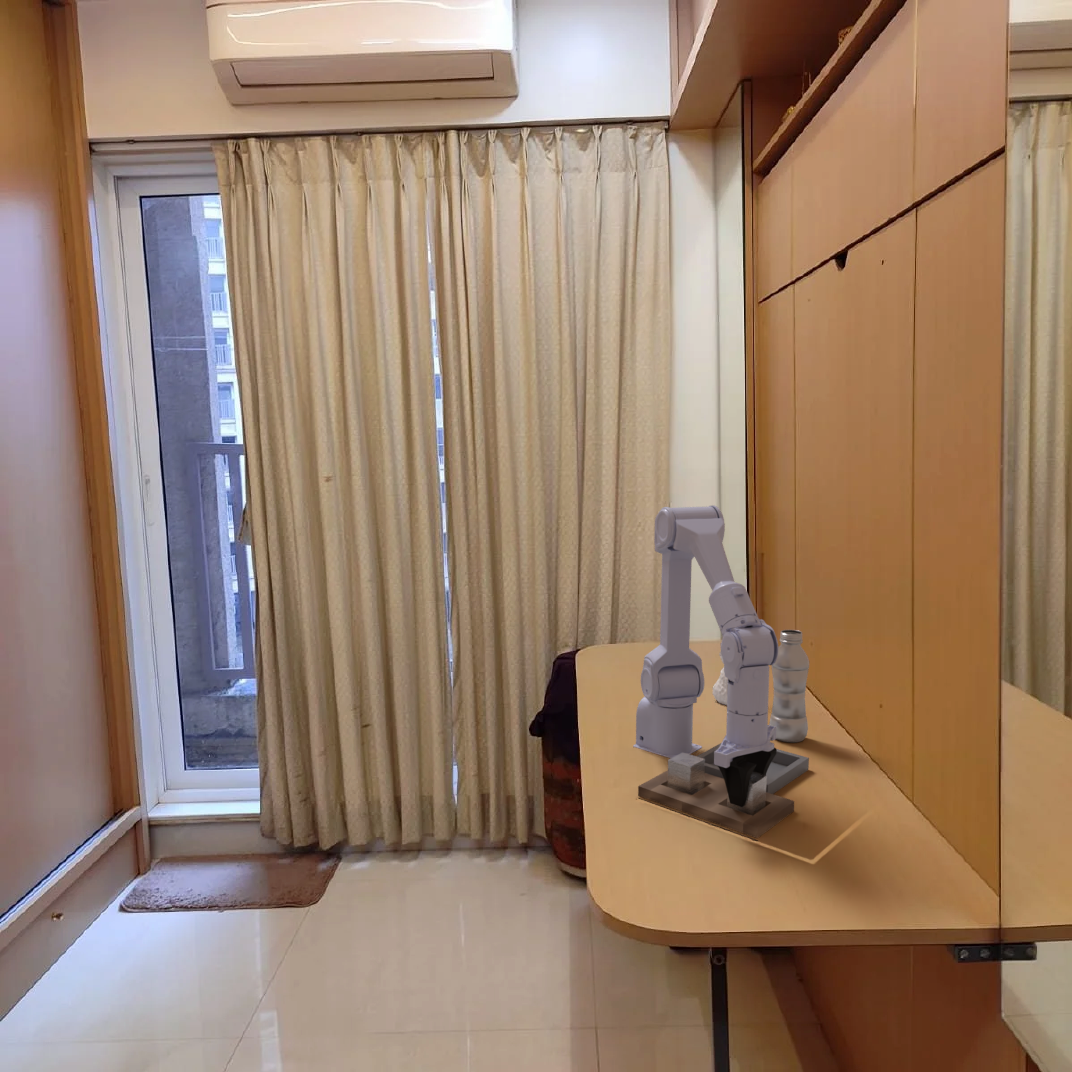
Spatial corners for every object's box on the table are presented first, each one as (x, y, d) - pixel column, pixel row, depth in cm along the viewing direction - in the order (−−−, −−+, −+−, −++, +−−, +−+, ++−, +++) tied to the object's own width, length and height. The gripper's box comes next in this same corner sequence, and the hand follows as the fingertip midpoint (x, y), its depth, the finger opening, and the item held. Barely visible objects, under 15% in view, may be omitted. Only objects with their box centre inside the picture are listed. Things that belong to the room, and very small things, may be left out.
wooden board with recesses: (638, 798, 130) (638, 786, 129) (678, 776, 138) (678, 764, 137) (757, 841, 116) (757, 827, 116) (793, 813, 124) (794, 801, 124)
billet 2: (726, 815, 123) (728, 776, 122) (740, 805, 126) (742, 767, 125) (751, 824, 121) (753, 784, 120) (764, 814, 124) (766, 775, 123)
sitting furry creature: (748, 712, 168) (750, 653, 166) (705, 706, 171) (707, 648, 170) (759, 698, 176) (760, 642, 174) (717, 693, 180) (719, 637, 178)
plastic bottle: (809, 748, 149) (813, 637, 146) (769, 745, 150) (773, 635, 148) (805, 735, 155) (809, 628, 153) (767, 732, 157) (770, 626, 154)
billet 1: (667, 797, 130) (668, 759, 129) (681, 788, 133) (682, 752, 132) (689, 804, 127) (690, 766, 127) (704, 796, 130) (704, 759, 130)
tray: (688, 775, 138) (688, 760, 138) (732, 750, 148) (732, 736, 148) (767, 800, 129) (767, 784, 128) (808, 772, 139) (808, 757, 138)
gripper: (747, 729, 113) (744, 825, 115) (796, 702, 124) (793, 791, 126) (701, 717, 118) (699, 809, 120) (752, 692, 129) (750, 777, 131)
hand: (744, 799), depth 123 cm, fingers closed on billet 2, 4 cm apart
